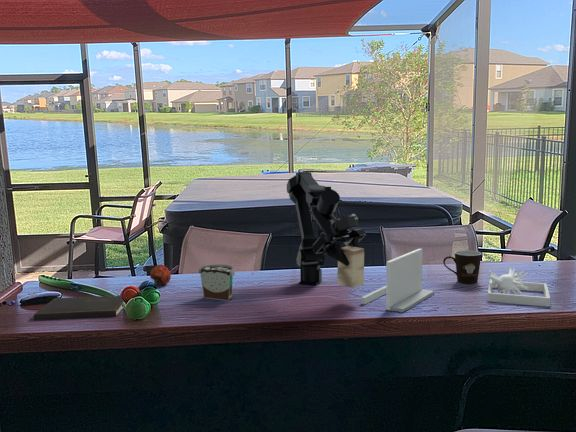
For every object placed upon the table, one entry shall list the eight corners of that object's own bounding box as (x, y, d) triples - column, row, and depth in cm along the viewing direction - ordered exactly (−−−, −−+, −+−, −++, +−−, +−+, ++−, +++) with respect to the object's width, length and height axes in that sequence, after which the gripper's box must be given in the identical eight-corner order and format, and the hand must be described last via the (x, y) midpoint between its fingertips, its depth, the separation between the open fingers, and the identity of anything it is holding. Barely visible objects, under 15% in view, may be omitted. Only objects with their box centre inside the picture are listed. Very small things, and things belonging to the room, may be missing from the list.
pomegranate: (162, 294, 180) (180, 273, 185) (148, 280, 177) (167, 258, 182) (152, 293, 186) (170, 271, 191) (138, 279, 182) (157, 258, 187)
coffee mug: (483, 280, 179) (484, 251, 178) (477, 286, 172) (478, 256, 171) (449, 276, 186) (449, 248, 184) (442, 282, 179) (442, 253, 177)
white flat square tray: (487, 301, 156) (487, 293, 156) (489, 286, 171) (489, 279, 171) (549, 306, 150) (550, 298, 149) (546, 291, 165) (546, 283, 165)
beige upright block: (337, 283, 159) (337, 248, 157) (348, 280, 162) (349, 245, 160) (352, 287, 154) (353, 251, 152) (363, 284, 158) (364, 248, 156)
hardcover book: (54, 305, 165) (54, 298, 165) (129, 302, 167) (128, 295, 166) (34, 322, 149) (33, 314, 149) (116, 318, 151) (115, 310, 151)
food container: (243, 296, 168) (241, 265, 167) (233, 301, 162) (231, 270, 161) (210, 292, 173) (209, 262, 172) (199, 297, 168) (198, 267, 166)
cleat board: (359, 304, 156) (359, 258, 154) (393, 287, 173) (393, 245, 172) (403, 312, 148) (403, 264, 146) (434, 294, 165) (434, 250, 163)
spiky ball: (489, 291, 171) (487, 265, 170) (530, 290, 166) (528, 264, 165) (487, 300, 160) (484, 273, 160) (530, 299, 155) (528, 271, 155)
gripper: (319, 209, 151) (347, 253, 145) (361, 202, 163) (389, 243, 157) (300, 232, 158) (327, 275, 152) (342, 224, 170) (368, 263, 164)
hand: (354, 263), depth 156 cm, fingers closed on beige upright block, 5 cm apart
